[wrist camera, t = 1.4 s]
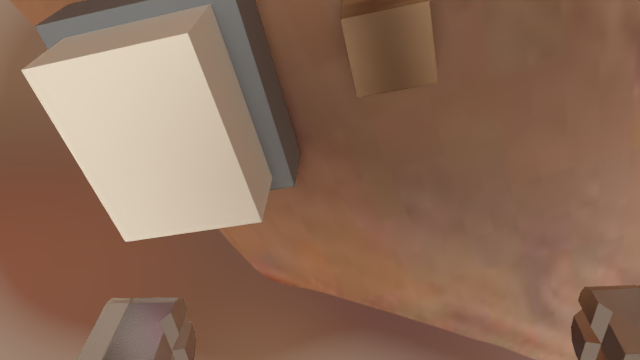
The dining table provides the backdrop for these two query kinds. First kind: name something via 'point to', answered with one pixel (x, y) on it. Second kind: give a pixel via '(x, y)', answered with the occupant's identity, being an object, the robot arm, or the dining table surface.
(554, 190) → the dining table surface
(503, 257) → the dining table surface
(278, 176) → the tower base
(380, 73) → the walnut block
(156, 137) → the tower top
